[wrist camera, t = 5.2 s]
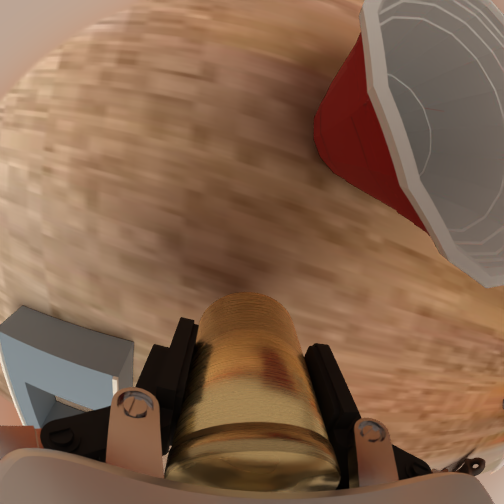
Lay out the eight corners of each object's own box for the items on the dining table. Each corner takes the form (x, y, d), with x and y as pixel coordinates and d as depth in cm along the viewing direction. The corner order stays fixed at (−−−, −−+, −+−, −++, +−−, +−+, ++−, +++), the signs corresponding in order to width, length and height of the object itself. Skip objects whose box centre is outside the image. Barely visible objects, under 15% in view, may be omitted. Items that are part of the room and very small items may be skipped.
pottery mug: (442, 480, 36) (441, 507, 29) (423, 465, 38) (421, 495, 31) (488, 453, 31) (492, 481, 24) (472, 436, 33) (476, 466, 26)
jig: (22, 305, 17) (-8, 331, 13) (134, 342, 18) (116, 380, 14) (47, 418, 20) (32, 446, 16) (133, 448, 22) (126, 481, 18)
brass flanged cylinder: (206, 280, 12) (166, 437, 4) (308, 302, 13) (374, 451, 5) (190, 362, 13) (161, 508, 6) (279, 378, 14) (303, 519, 6)
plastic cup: (443, 132, 16) (580, 132, 5) (369, 250, 18) (505, 341, 7) (332, 26, 14) (435, -76, 2) (234, 146, 16) (258, 88, 4)
